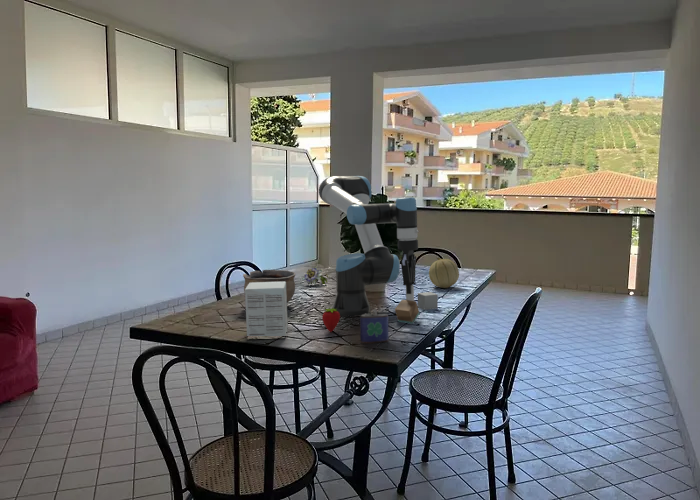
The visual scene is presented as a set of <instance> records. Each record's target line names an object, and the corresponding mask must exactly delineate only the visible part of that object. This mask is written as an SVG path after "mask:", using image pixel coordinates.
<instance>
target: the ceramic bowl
mask: <svg viewBox="0 0 700 500" xmlns="http://www.w3.org/2000/svg"><path fill="white" fill-rule="evenodd" d="M296 275H297V274H296V272H294V271H289V270H287V269H286V270H282V269H263V270H261V271H260V270H253V271H250V272H249V275H248V274H247V273H244V274H243V275H242V277H243V279H244V285H243V292H244V293H245V289H246V287H247V286H248V284H249V283H252V282H283V281H285V282H286V295H287V304H288V303H289V302H290V301H291V300H292V298H293V297H294V295H295V293H296V282H295V276H296Z"/></svg>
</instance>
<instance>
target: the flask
mask: <svg viewBox="0 0 700 500" xmlns="http://www.w3.org/2000/svg"><path fill="white" fill-rule="evenodd" d="M359 326H360V327H359V329H360V330H359V331H360V336H359V337H360V344H382V343H384V344H385V343H388V342H389V339H390V337H389V334H390V333H389V315H388V314H387V313H377V309H372V311H371V312H370V313H368V314H366V313H365V314H364V315H361V316H359Z"/></svg>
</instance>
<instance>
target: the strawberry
mask: <svg viewBox="0 0 700 500" xmlns="http://www.w3.org/2000/svg"><path fill="white" fill-rule="evenodd" d="M333 305H334V303H333V304H331V305H330V307H332V308H325V309H324V311H323V314H322V316H321V317H322V318H321V320H322V323H323V324H324V327H325V328H326V329H327V330H328V332H329V331H330V332H329V333H333V332H334V330H335V328H336V327H337V326H338V324H339V323H340V319H341V316H340V313H339V312H338V311H336V310H337V309H333ZM332 331H333V332H332Z"/></svg>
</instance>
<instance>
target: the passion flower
mask: <svg viewBox="0 0 700 500" xmlns="http://www.w3.org/2000/svg"><path fill="white" fill-rule="evenodd" d="M322 272H323V269H322V268H321V269H318V266H314V267H313V268H311V269H308V270H306V272H305V273H306V274H304V277H302V278H301V280H302V281H303V280H305V281H306V283H308V284H307V285H309V284H312V285H316V284H317V283H318V282H319V280H320V282H321V283H322V284H321V285H323V284H325V285H326V283H328V279H327V278H329V275H328V273H324V274H323V273H322ZM325 275H326V277H327V278H326V277H324V276H325Z"/></svg>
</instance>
